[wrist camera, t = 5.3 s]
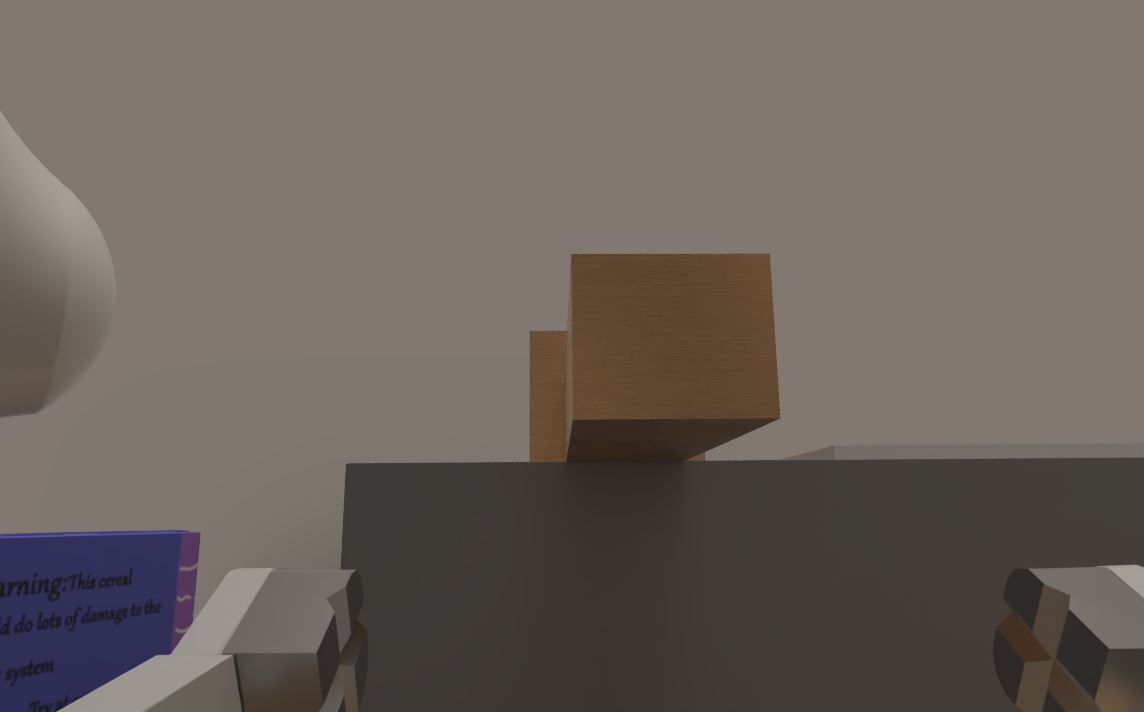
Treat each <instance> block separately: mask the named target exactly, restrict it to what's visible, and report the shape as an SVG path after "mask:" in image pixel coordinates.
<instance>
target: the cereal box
mask: <svg viewBox="0 0 1144 712" xmlns="http://www.w3.org/2000/svg"><path fill="white" fill-rule="evenodd" d="M199 544H200V533H198V532H189V531H182V530H166V531H165V530H163V531H107V532H63V533H24V534H23V533H22V534H0V712H57V711H59V710H61V709H62V708H64V707H66V706H68V705H69V704H71V703H73V702H75V701H76V700H78V699H80V698H82V697H84V696H85V695H87V694H89V693H91V692H92V691H94V690H96V689H98V688H100V687H101V686H103V685H105V684H107V683H108V682H110V681H112V680H114V679H115V678H117V677H119V676H121V675H123V674H124V673H126V672H128V671H130V670H131V669H133V668H135V667H137V666H138V665H140V664H142V663H144V662H146V661H147V660H149V659H151V658H153V657H154V656H156V655H170V654H171V653H172V651H173V650H174V649H175V647H176V646H177V644H178V643H179V641H180V640H181V639H182V637H183V636H184V634H185V633H186V632H187V630H188V629H189V627H190V626H191V624H192V623H193V613H194V601H195V600H194V599H195V589H196V578H197V567H198V556H199V555H198V554H199Z"/></svg>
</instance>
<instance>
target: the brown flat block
mask: <svg viewBox="0 0 1144 712" xmlns="http://www.w3.org/2000/svg"><path fill="white" fill-rule="evenodd" d="M777 419H780V406H779V392H778V376H777V360H776V345H775V330H774V314H773V299H772V283H771V268H770V254H571V268H570V286H569V305H568V323H567V331H530V462H615V461H705V452H706V451H708V450H710V449H713V448H715V447H717V446H719V445H722V444H724V443H726V442H728V441H730V440H733V439H735V438H737V437H740V436H742V435H744V434H746V433H749V432H751V431H753V430H755V429H757V428H760V427H762V426H764V425H766V424H768V423H771V422H773V421H775V420H777Z"/></svg>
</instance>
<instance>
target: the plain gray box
mask: <svg viewBox="0 0 1144 712" xmlns="http://www.w3.org/2000/svg"><path fill="white" fill-rule="evenodd" d="M344 496H345V497H344V515H343V534H342V535H343V536H342V554H341V570H357V571H358V572H359V574H360V576H361V578H362V587H363V595H364V601H363V604H362V607H361V609H360V612H359V615H358V618H357V620H358V621H359V622H360V623H361V624H362V625H363V627H364V628H365V629H366V630H367V637H368V670H367V677H366V683H365V690H364V694H363V697H362V700H361V704H360V707H359V710H358V711H357V712H1024V711H1022V710H1021V709H1019V708H1017V707H1016V706H1015V705H1014V704H1013V703H1012V701H1011V700H1010V698H1009V697H1008V696H1007V694H1006V693H1005V691H1004V690H1003V688H1002V686H1001V683H1000V681H999V679H998V676H997V674H996V670H995V664H994V658H993V651H992V649H993V643H994V637H995V631H996V627H997V626H998V625H999V624H1000V623H1001V622H1002V621H1003V620H1004V619H1005V618H1006V617H1007V616H1008V615H1009V614H1010V613H1011V610H1010V608H1009V607H1008V605H1007V603H1006V602H1005V600H1004V598H1003V594H1004V590H1005V586H1006V581H1007V579H1008V577H1009V576H1010V575H1011V573H1012V572H1013V570H1014V569H1026V568H1073V567H1095V566H1116V565H1138V566H1141V567H1144V444H1010V445H875V446H872V445H871V446H831V447H827V448H823V449H819V450H816V451H812V452H808V453H804V454H800V455H797V456H793V457H789V458H785V459H781V460H756V461H755V460H748V461H615V462H492V463H491V462H486V463H485V462H483V463H359V464H358V463H354V464H353V463H351V464H346V477H345V495H344Z"/></svg>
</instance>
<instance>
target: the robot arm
mask: <svg viewBox="0 0 1144 712" xmlns="http://www.w3.org/2000/svg"><path fill="white" fill-rule="evenodd" d="M115 300H116V282H115V273H114V268H113V264H112V259H111V256H110V252H109V249H108V247H107V245H106V242H105V239H104V237H103V235H102V233H101V231H100V230H99V228H98V226H97V224H96V222H95V221H94V219H93V218H92V216H91V215H90V214H89V212H88V211H87V209H86V208H85V206H84V205H83V204H82V203H81V202H80V200H79V199H78V198H77V197H76V196H75V195H74V194H73V193H72V192H71V191H70V190H69V189H68V188H67V187H66V186H65V185H64V184H62V183H61V182H60V181H59V180H58V179H57V178H55V176H53V175H52V174H51V173H50V172H49V171H48V170H47V169H46V168H45V167H44V166H43V165H42V164H41V163H40V161H39V160H38V159H37V158H36V157H35V156H34V155H33V154H32V153H31V152H30V151H29V149H28V148H27V147H26V146H25V144H24V143H23V142H22V141H21V139H20V138H19V137H18V135H17V134H16V133H15V131H14V130H13V129H12V128H11V126H10V125H9V123H8V122H7V120H6V119H5V117H4V116H3V114H2V112H1V111H0V418H4V417H13V416H22V415H31V414H36V413H39V412H40V411H42V410H44V409H45V408H47V407H48V406H50V405H51V404H53V403H54V402H56V401H57V400H58V399H60V398H61V397H62V396H63V395H65V394H66V393H67V392H68V391H69V390H70V389H71V388H72V387H73V386H74V385H75V384H76V383H77V382H79V381H80V380H81V378H82V377H83V376H84V375H85V374H86V372H87V371H88V370H89V369H90V367H91V366H92V365H93V363H94V361H95V360H96V358H97V356H98V355H99V353H100V352H101V350H102V348H103V346H104V343H105V341H106V339H107V337H108V334H109V332H110V328H111V324H112V320H113V316H114V311H115ZM1003 598H1004V600H1005V602H1006V603H1007V605H1008V607H1009V608H1010V610H1011V613H1010V614H1009V615H1008V616H1007V617H1006V618H1005V619H1004V620H1003V621H1002V622H1001V623H1000V624H999V625H998V626H997V627H996V631H995V637H994V643H993V649H992V651H993V658H994V664H995V670H996V674H997V676H998V679H999V681H1000V683H1001V686H1002V688H1003V690H1004V691H1005V693H1006V694H1007V696H1008V697H1009V698H1010V700H1011V701H1012V703H1013V704H1014V705H1015V706H1016V707H1017V708H1019V709H1021V710H1022V711H1024V712H1144V567H1141V566H1138V565H1116V566H1095V567H1073V568H1026V569H1014V570H1013V572H1012V573H1011V575H1010V576H1009V577H1008V579H1007V581H1006V586H1005V590H1004V594H1003ZM363 601H364V595H363V587H362V578H361V576H360V574H359V572H358V571H357V570H340V569H339V570H338V569H336V570H335V569H282V568H279V569H274V568H248V569H246V568H245V569H244V568H241V569H235V570H232V571H230V572H229V573H228V574H227V575H226V576H225V578H224V579H223V580H222V582H221V583H220V585H219V586H218V588H217V589H216V591H215V592H214V593H213V595H212V596H211V597H210V599H209V600H208V602H207V603H206V605H205V606H204V607H203V609H202V610H201V612H200V613H199V614H198V616H197V617H196V619H195V621H194V622H193V623H192V624H191V626H190V627H189V629H188V630H187V632H186V633H185V634H184V636H183V637H182V639H181V640H180V641H179V643H178V644H177V646H176V647H175V649H174V650H173V651H172V653H171V654H170V655H156V656H154V657H153V658H151V659H149V660H147V661H146V662H144V663H142V664H140V665H138V666H137V667H135V668H133V669H131V670H130V671H128V672H126V673H124V674H123V675H121V676H119V677H117V678H115V679H114V680H112V681H110V682H108V683H107V684H105V685H103V686H101V687H100V688H98V689H96V690H94V691H92V692H91V693H89V694H87V695H85V696H84V697H82V698H80V699H78V700H76V701H75V702H73V703H71V704H69V705H68V706H66V707H64V708H62V709H61V710H59V711H57V712H357V711H358V710H359V707H360V704H361V700H362V697H363V694H364V690H365V683H366V677H367V670H368V637H367V630H366V629H365V628H364V627H363V625H362V624H361V623H360V622H359V621H358V620H357V618H358V615H359V612H360V609H361V607H362V604H363Z"/></svg>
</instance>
